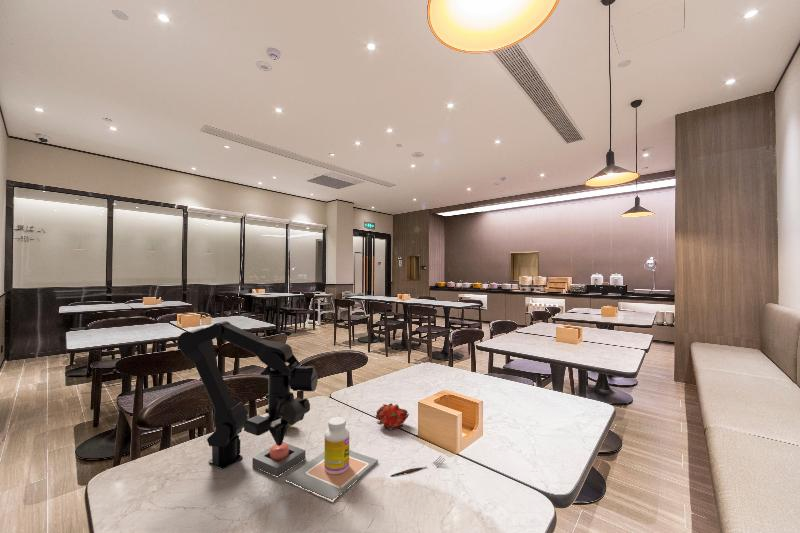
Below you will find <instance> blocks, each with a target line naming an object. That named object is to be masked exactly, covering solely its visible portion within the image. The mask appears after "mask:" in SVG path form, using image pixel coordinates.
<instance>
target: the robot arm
mask: <svg viewBox="0 0 800 533" xmlns="http://www.w3.org/2000/svg"><path fill="white" fill-rule="evenodd" d="M217 338H219V339H221V340H223V341H226V342H228V343H230V344H232V345H234V346H236V347H238V348H241V349H242V350H245V351H247V352H249V353H252V354H253V355H255V356H256V357H257V358H258V360H260V362H261V363H262V364H264V365H266V367H265V368H264V369H263V371H261V372H260V375H261V376H268V393H265V395H264V396H265V399H268V407H267V408H265V413H266V414H268V415H267V416H261V415H255V416H253V417H250V418H249V416H248V415H249V412H248V411H247V409H246V406H245V403H244V402H243V401H239V403H238V402H237V401H235V400H234V399H233V397H232V395H231V393H230V391H229V389H228V386H227V383H226V381H225V380H224V377H223V375H222V373H221V370H220V368H219V367H218V364H217V362H216V360H215V357H214V355H213V353H214V352H213V351H214V342H213V340H214V339H217ZM176 343H177V344H176V345H177V347H178V349H179V350H180V351H181V353H182V355H183V356H184V357H185V358H186V359H187V360H189V361H190V362H192V363H193V364H194V366H195V368H196V371H197V373H198V374H199V377H200V379H201V381H202V384H203V386H204V389H205V391H206V392H207V395H208V398H209V399H210V402H211V404H212V406H213V409H214V414H213V415H214V418H213V424H214V427H215V431H214V432H213V433H212V434H210V436H208V437H207V438H206V441H207V444H208V446H209V447H211V459H209V460H208V464H211V465H213V466H214V467H217V468H219V469H221V470H223V469H225V468H227V467H229V466H230V465H232V464H234V463H236V462H238V461H241V459H243V455H241V439H240V435H239V434H240V433H242V431H244V432H246V433H248V434H251V435H253V436H256V437H257V436H262V435H264V434H266V433H267V432H270V435H271V437H272V438H273V440H274V442H275V445H276V444H277V445H278V446H280V445H282V442H284V439H285V436H286V433H287V430H288V429H289V428H288V426H289V424H291V425H292V426H294V425H296V423H298V422H300V421H303V420H304V417H305V415H306V414H307V413H309V412H310V411H311V404H310V400H309V399H308V398H306V397H305V398H300V397H294V396H295V395H294V392H315V391H316V389H317V386H318V381H319V380H318V379H319V378H318V372H317V370H316V366H315V365H309V366H308V365H307V366H306V365H305V366H304V365H303V366H301V363H300V362H299V360H298V359H297V358H296V356H295V355H294V353H293V350H292V349H293V348H292V346H290V344H288V343H283V342H280V341H276V340H267V339H265V338H262V337H260V336H258V335H256V334H253V333H252V332H249V331H247V330H244V329H242V328H240V327H238V326H236V325H234V324H231V323H230V322H229V321H226V320H223V321H220V322H219V321H218V322H216V323H213V324H212V325H210V326H207V327H198V328H195V329H190V330H188V331H184V332H182V333H180V335H179V336H178V339H177V340H176ZM291 390H292V391H293V392H291ZM293 424H294V425H293Z"/></svg>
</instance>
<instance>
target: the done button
mask: <svg viewBox="0 0 800 533" xmlns="http://www.w3.org/2000/svg"><path fill="white" fill-rule="evenodd" d="M285 443H286V442H284V443H282V445H280V446H278V445H277V444H276V443H275V444H274V445H272V446H271V448H270V447H269V448H270V459H272V460H274V461H277V462H279V461H281V460H283V459H284V458H286V457H287V456H289V445H288V444H289V443H287V444H285Z"/></svg>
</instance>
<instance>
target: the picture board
mask: <svg viewBox="0 0 800 533" xmlns="http://www.w3.org/2000/svg"><path fill="white" fill-rule="evenodd" d="M324 455H325V451H323V452H322V453H320V454H319V455H318V456H316V457H314V458H313V459H311V460H310V461H309V462H307V463H305V464H304V465H302V466H301V467H300V468H298V469H297V470H295V471H293V472H292V473H291V474H289V475H288V476H286V477H285V478H284V481H285V480H287V481H289V482H292V483H294V484H296V485H298V486H301V487H302V488H304V489H307V490H310V491H312V492H315V493H317V494H319V495H321V496H324V497H326V498H329V499H331V500H333V499H334V498H336V497H337V496H339V495H340V494H341V493H343V492H344V491H345V490H346V489H347V488H348V487H349V486H350V485H352V484H353V483H354V482H355V481H356V480H358V479H359V478H360V477H361V476H362V477H363V475H364V474H365V475H366V474H367V473H368V472H369V471H370V470H371V469H373V467H375V466H376V465H377V464H378V463H379V460H378V459H377V458H373V457H371V456H367V455H365V454H362V453H359V452H356V451H354V450H350V449H349V468H348V469H347V470H346V471H345V472H343V473H341V474H329V473H327V472H326V471H325V468H324ZM365 475H364V476H365ZM362 477H361V478H362ZM361 478H360V479H361ZM360 479H359V480H360ZM359 480H358V481H359ZM353 485H354V484H353ZM353 485H352V486H353ZM344 493H345V492H344ZM344 493H343V494H344Z"/></svg>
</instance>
